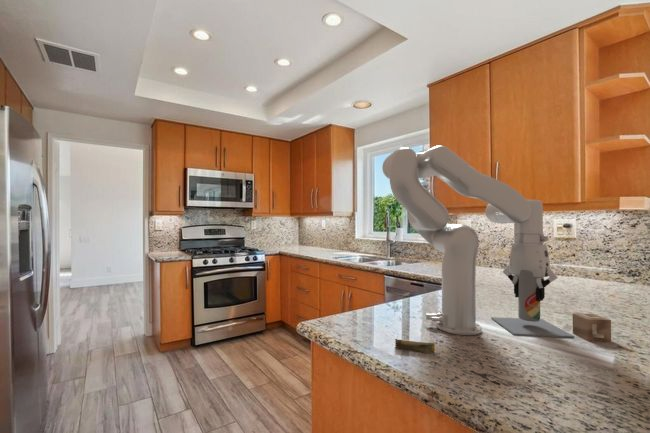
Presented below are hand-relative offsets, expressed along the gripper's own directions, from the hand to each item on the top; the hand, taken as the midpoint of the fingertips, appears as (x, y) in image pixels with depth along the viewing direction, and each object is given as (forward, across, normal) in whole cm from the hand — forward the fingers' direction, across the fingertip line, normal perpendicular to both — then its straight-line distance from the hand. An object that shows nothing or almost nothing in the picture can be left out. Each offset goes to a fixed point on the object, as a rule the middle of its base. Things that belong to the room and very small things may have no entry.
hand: (528, 298), depth 99 cm
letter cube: (+9, -14, -5) cm, 17 cm away
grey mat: (+9, 0, 0) cm, 9 cm away
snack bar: (+9, +8, +44) cm, 46 cm away
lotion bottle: (+7, 0, 0) cm, 7 cm away
